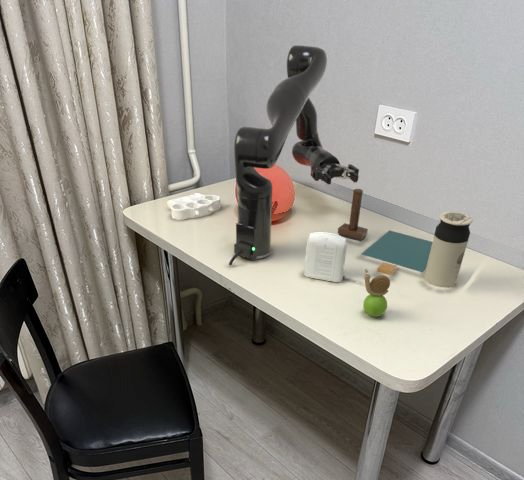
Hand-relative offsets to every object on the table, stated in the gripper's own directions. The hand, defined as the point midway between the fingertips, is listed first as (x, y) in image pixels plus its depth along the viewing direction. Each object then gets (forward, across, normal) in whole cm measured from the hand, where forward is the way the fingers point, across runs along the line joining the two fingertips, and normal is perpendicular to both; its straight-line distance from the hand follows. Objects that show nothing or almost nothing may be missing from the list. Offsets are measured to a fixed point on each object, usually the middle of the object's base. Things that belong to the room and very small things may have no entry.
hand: (343, 180), depth 149 cm
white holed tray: (-22, -42, +15) cm, 50 cm away
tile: (+23, +11, +14) cm, 29 cm away
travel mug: (+40, +12, +15) cm, 45 cm away
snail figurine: (+50, -12, +15) cm, 53 cm away
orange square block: (+32, 0, +15) cm, 36 cm away
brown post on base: (+10, 0, +14) cm, 18 cm away
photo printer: (+30, -16, +15) cm, 37 cm away
